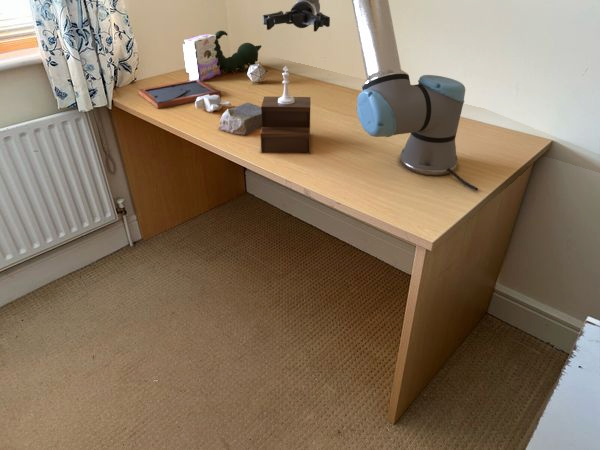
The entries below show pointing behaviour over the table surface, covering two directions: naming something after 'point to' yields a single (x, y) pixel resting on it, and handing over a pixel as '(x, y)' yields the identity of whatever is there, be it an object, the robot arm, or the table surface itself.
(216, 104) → the bunny figurine
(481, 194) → the table surface
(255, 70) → the game die
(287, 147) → the step shelf
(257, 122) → the geological specimen
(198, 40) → the candy box
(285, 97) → the chess piece
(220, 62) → the toy figurine
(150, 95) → the picture frame
